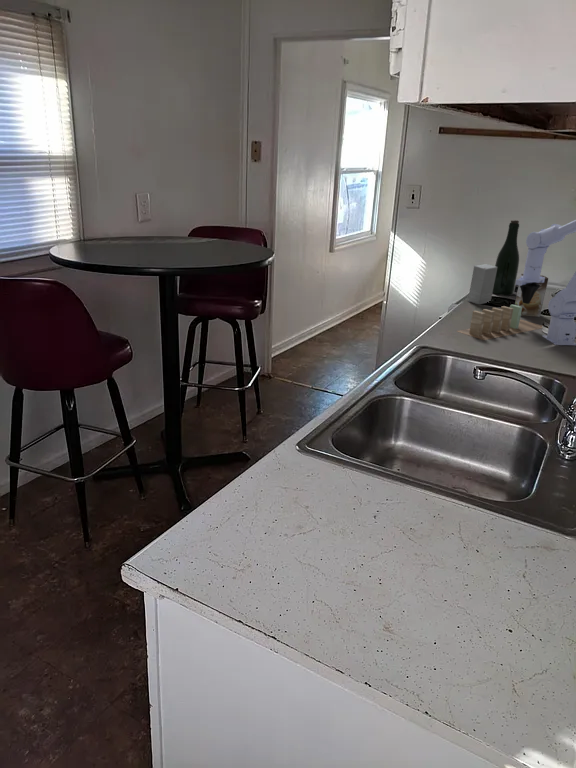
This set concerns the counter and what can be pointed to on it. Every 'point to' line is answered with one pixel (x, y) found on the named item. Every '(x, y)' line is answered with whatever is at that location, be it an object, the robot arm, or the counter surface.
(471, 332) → the birch domino
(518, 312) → the green domino
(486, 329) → the birch domino
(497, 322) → the birch domino
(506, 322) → the birch domino
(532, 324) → the thin wooden board
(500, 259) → the beer bottle
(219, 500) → the counter surface
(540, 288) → the coffee box
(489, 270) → the skincare box
